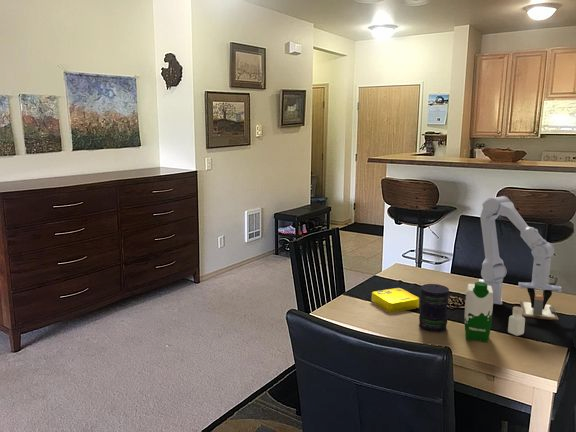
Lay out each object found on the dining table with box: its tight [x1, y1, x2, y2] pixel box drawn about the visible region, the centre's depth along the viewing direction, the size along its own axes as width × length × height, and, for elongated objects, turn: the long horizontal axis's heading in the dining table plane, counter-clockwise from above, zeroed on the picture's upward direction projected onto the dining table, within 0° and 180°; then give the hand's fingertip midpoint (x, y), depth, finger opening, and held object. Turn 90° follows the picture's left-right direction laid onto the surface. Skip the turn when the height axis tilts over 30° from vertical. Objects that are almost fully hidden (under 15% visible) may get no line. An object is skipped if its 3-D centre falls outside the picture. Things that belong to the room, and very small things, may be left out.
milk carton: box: [463, 281, 494, 343], centre depth 164 cm, size 9×9×20 cm
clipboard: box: [519, 300, 560, 322], centre depth 189 cm, size 12×16×2 cm
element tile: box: [371, 287, 420, 313], centre depth 197 cm, size 15×15×5 cm
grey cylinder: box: [532, 294, 544, 315], centre depth 184 cm, size 3×3×7 cm
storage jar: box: [418, 283, 450, 334], centre depth 173 cm, size 10×10×15 cm
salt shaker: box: [507, 306, 526, 337], centre depth 168 cm, size 4×4×10 cm
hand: (537, 307), depth 185 cm, fingers closed on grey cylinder, 3 cm apart
